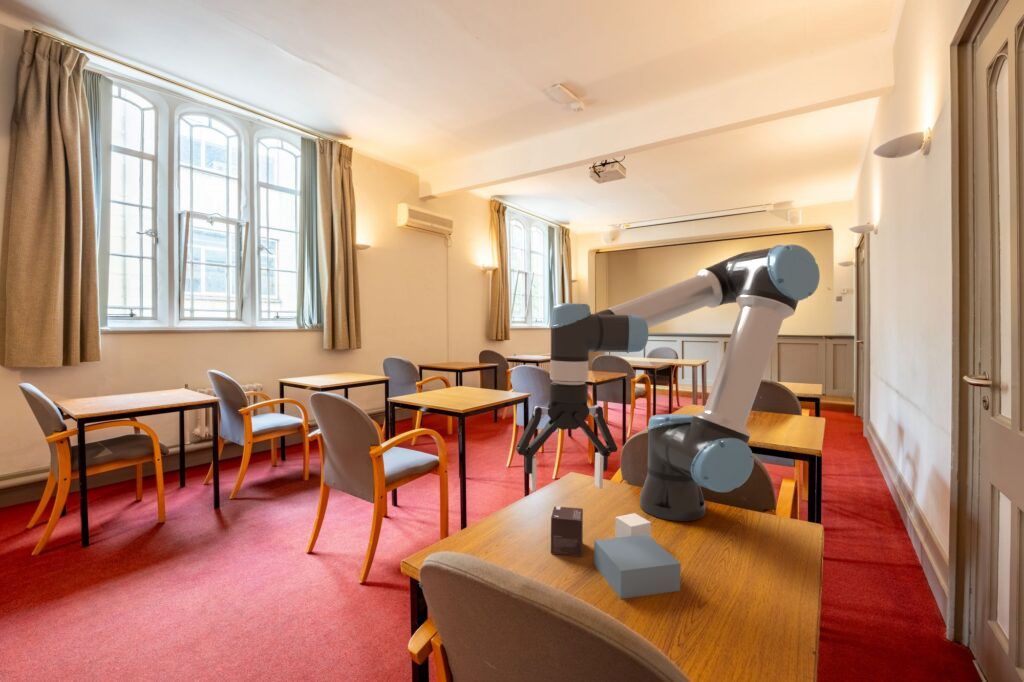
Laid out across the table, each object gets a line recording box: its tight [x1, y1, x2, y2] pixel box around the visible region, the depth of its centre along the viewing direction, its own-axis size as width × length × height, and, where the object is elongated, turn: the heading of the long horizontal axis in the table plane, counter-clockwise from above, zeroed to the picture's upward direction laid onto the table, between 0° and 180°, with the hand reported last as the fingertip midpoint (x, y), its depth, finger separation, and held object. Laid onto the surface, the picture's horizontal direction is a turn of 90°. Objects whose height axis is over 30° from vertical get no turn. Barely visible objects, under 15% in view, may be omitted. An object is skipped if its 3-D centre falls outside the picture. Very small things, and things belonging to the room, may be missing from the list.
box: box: [550, 506, 584, 557], centre depth 93 cm, size 6×6×7 cm
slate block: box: [593, 534, 682, 599], centre depth 83 cm, size 11×11×5 cm
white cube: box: [614, 512, 652, 538], centre depth 96 cm, size 5×5×5 cm
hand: (565, 488), depth 93 cm, fingers open, 13 cm apart
